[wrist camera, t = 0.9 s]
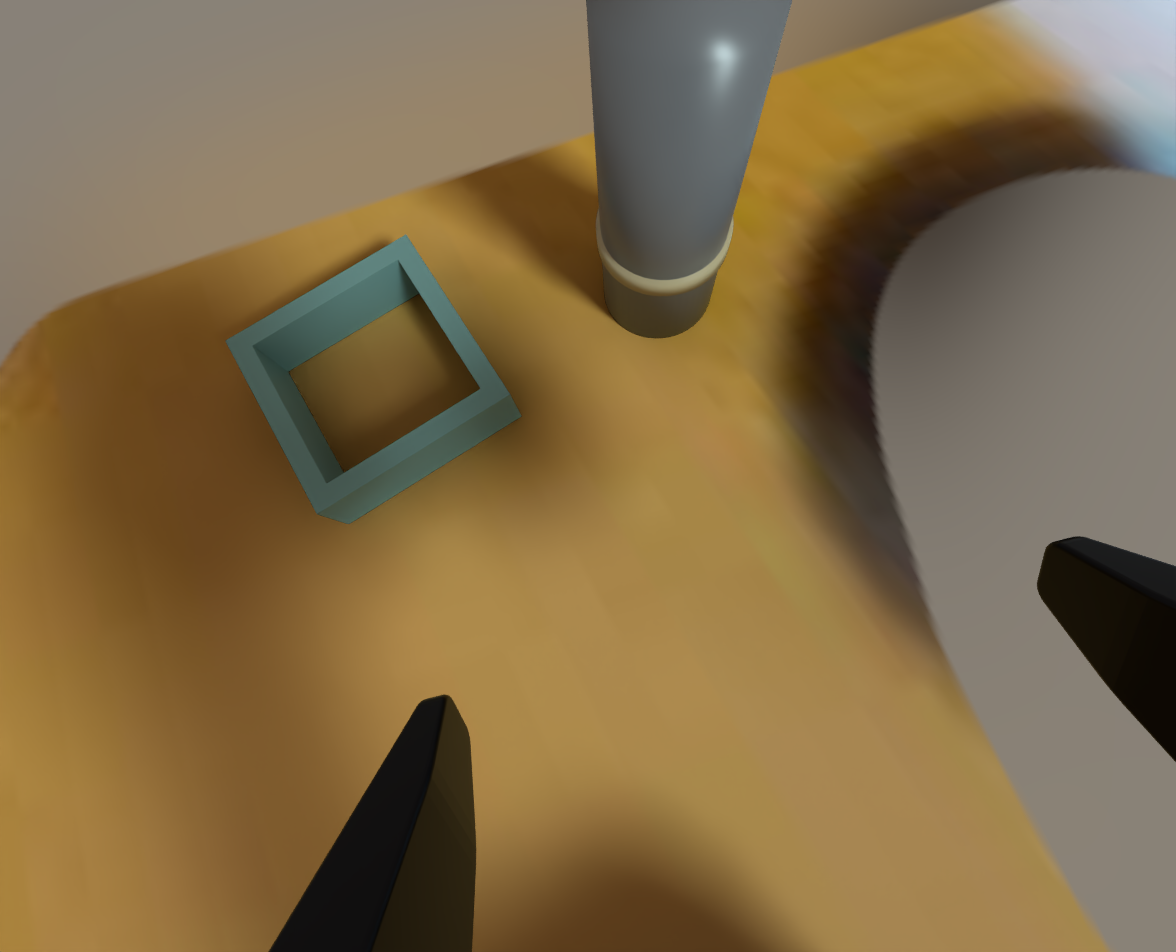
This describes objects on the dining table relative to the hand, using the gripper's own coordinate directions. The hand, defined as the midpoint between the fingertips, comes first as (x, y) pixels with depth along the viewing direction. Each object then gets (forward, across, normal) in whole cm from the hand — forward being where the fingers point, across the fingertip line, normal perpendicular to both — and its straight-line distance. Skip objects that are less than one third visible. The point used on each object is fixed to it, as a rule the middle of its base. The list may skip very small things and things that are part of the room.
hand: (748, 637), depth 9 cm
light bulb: (+19, -3, 0) cm, 19 cm away
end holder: (+18, +9, +1) cm, 20 cm away
